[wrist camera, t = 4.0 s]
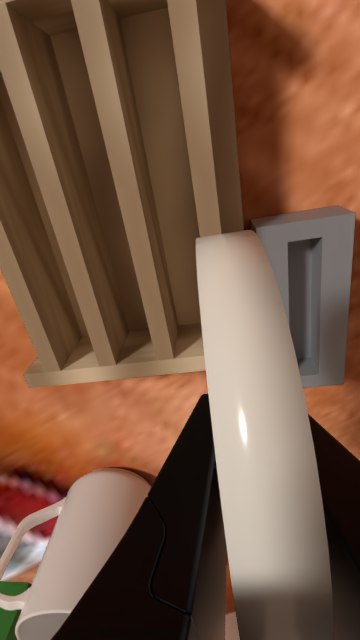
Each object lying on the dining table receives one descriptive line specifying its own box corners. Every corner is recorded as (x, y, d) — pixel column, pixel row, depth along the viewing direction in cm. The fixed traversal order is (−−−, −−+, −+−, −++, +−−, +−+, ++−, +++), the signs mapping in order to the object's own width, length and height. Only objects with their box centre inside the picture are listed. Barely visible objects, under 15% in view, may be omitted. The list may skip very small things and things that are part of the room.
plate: (233, 200, 10) (362, 386, 2) (252, 415, 14) (321, 746, 6) (195, 206, 10) (195, 404, 3) (224, 417, 15) (259, 745, 7)
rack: (221, -28, 15) (229, -102, 10) (249, 323, 23) (261, 364, 18) (-56, 43, 17) (-149, 5, 12) (60, 345, 25) (29, 388, 20)
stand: (337, 205, 19) (355, 212, 17) (330, 362, 24) (343, 384, 22) (250, 219, 20) (256, 228, 18) (260, 369, 25) (266, 391, 22)
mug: (169, 470, 30) (153, 625, 21) (155, 526, 34) (135, 678, 25) (39, 447, 30) (-41, 593, 20) (40, 507, 34) (-26, 652, 24)
